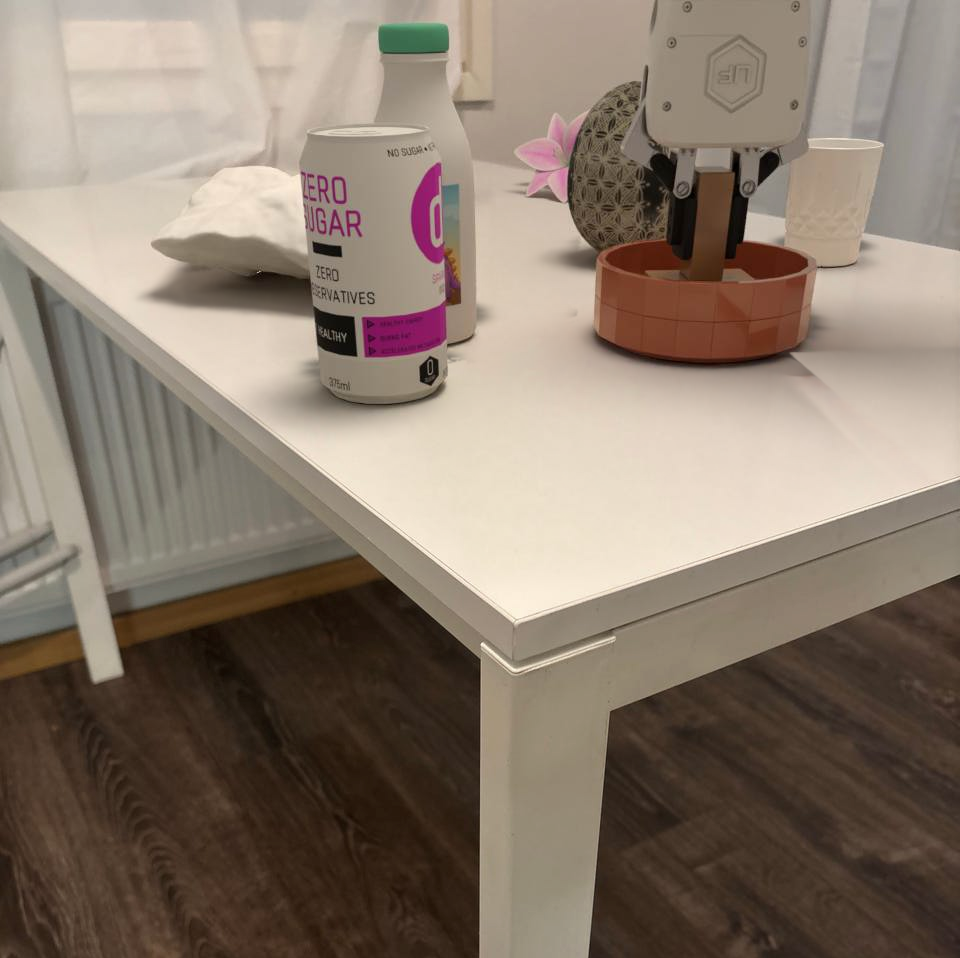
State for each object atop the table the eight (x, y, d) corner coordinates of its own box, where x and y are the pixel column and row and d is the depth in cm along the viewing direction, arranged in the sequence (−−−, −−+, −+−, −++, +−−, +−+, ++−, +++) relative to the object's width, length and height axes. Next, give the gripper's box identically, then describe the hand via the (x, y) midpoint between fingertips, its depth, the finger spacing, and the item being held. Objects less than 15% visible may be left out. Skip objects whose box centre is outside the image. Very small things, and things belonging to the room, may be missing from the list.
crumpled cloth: (204, 322, 75) (204, 188, 70) (105, 238, 101) (100, 137, 96) (480, 326, 86) (495, 211, 82) (327, 250, 112) (332, 160, 107)
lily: (511, 197, 135) (493, 131, 127) (587, 155, 136) (574, 87, 128) (553, 241, 129) (537, 175, 121) (633, 196, 129) (623, 127, 121)
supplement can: (460, 370, 69) (454, 122, 61) (428, 411, 62) (416, 138, 54) (346, 364, 70) (326, 121, 62) (302, 403, 63) (273, 137, 55)
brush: (735, 310, 76) (754, 164, 71) (752, 325, 73) (773, 172, 67) (641, 312, 76) (653, 165, 70) (653, 327, 72) (667, 174, 67)
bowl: (766, 307, 82) (775, 234, 79) (836, 363, 69) (851, 279, 66) (579, 313, 81) (582, 240, 78) (615, 371, 68) (620, 287, 65)
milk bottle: (406, 316, 81) (391, 22, 70) (493, 327, 78) (492, 21, 67) (354, 341, 75) (330, 24, 64) (447, 354, 72) (437, 24, 61)
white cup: (763, 262, 95) (779, 145, 90) (793, 247, 101) (809, 136, 95) (847, 272, 91) (868, 150, 86) (874, 256, 97) (895, 140, 92)
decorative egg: (550, 249, 102) (554, 79, 94) (661, 243, 103) (674, 75, 96) (584, 275, 92) (592, 87, 84) (706, 268, 94) (725, 83, 86)
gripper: (618, -63, 58) (599, 270, 68) (889, -63, 59) (832, 265, 69) (595, -56, 65) (581, 247, 75) (841, -57, 66) (795, 243, 76)
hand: (703, 253), depth 72 cm, fingers closed on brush, 2 cm apart
